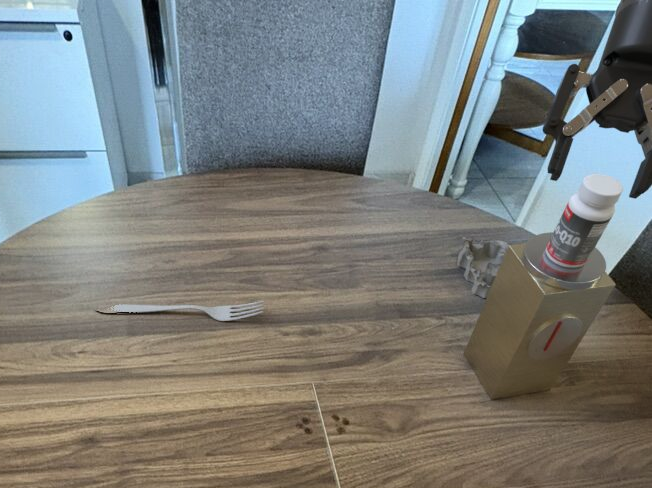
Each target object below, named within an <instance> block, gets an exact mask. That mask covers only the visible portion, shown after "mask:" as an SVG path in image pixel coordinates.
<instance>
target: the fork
mask: <svg viewBox="0 0 652 488" xmlns="http://www.w3.org/2000/svg"><path fill="white" fill-rule="evenodd" d="M264 303H265V300H262V301H256V302H250V303H242V304H233V305H219V306H211V307H210V306H209V307H208V306H204V305H203V306H202V305H196V304H195V305H194V304H182V305H180V304H179V305H178V304H177V305H158V304H157V305H155V304H154V305H152V304H124V303H123V304H122V305H121V303H118V304H119V305H115V306H114V307H113V306H112V307H113V308H114V311H116V310H117V311H119V310H120V311H119V312H121V311H122V312H129V313H128V314H137V313H153V312H165V311H178V310H197V311H201V312H204V313H205V314H207V315H209V317H211V318H213V319H214V320H216V321H219V322H227V321H228V322H230V321H236V320H240V319H245V318H249V317H253V316H257V315H260V314H264V311H263V310H264V309H265V308H264V306H265V304H264ZM112 307H110V308H111V309H112V310H113V308H112ZM108 309H109V308H108ZM112 310H111V311H112ZM131 312H133V313H131ZM136 312H137V313H136Z"/></svg>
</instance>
